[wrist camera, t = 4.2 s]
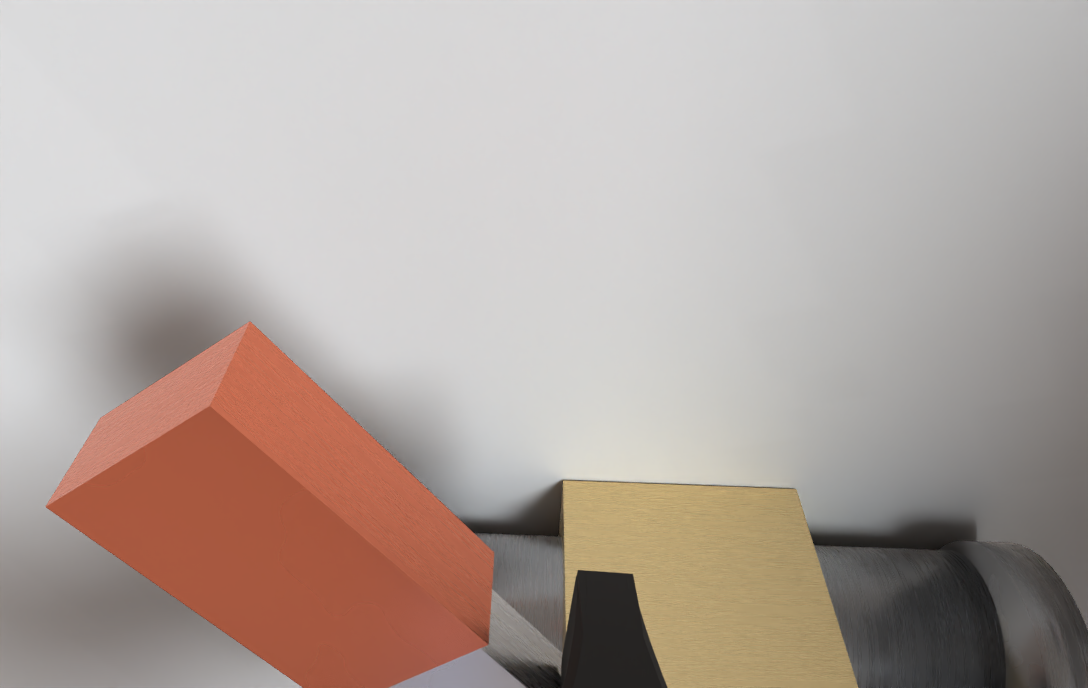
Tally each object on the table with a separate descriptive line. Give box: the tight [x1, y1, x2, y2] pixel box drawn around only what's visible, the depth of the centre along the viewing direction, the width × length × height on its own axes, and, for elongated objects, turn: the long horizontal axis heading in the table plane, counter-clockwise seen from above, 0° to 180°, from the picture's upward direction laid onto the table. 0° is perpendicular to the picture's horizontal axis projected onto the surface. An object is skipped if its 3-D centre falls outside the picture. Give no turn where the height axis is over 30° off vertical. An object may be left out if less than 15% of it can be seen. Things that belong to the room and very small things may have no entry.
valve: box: [474, 480, 1088, 688], centre depth 18 cm, size 14×6×6 cm, turn 87°
